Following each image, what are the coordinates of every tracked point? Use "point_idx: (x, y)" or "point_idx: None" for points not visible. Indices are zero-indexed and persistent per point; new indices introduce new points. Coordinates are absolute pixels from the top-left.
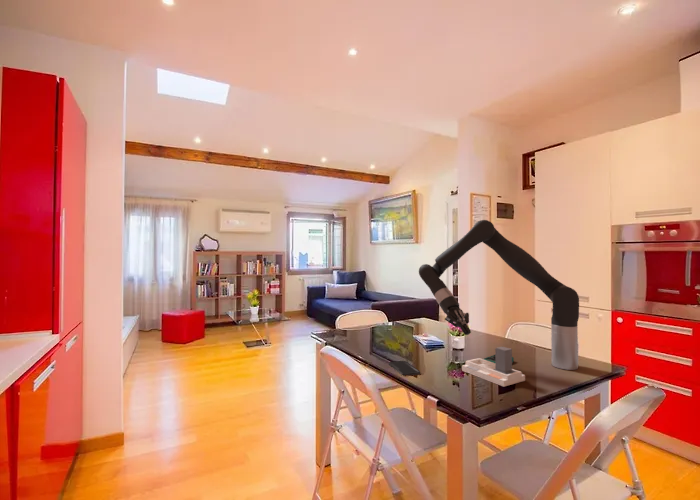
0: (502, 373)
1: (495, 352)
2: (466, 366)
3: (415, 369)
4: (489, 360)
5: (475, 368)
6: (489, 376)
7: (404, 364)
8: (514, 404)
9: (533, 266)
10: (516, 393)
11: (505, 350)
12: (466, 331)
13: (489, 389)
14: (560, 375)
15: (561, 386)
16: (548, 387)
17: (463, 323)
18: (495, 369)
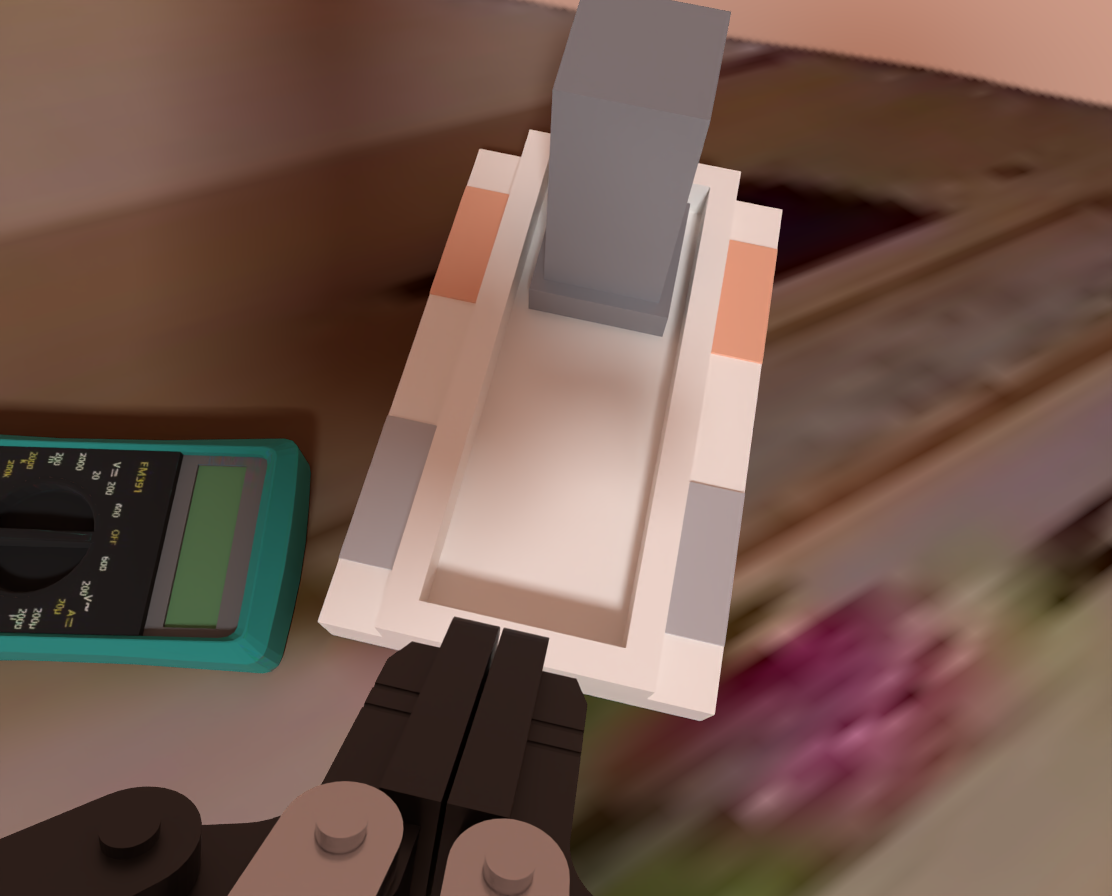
0: (719, 217)
1: (696, 169)
2: (700, 650)
3: None
4: (263, 549)
5: (688, 530)
6: (763, 341)
7: None
8: (996, 97)
9: None
10: (809, 144)
11: (718, 9)
12: (563, 686)
13: (920, 291)
14: (126, 54)
15: (406, 2)
16: (499, 47)
17: (490, 843)
18: (660, 303)
